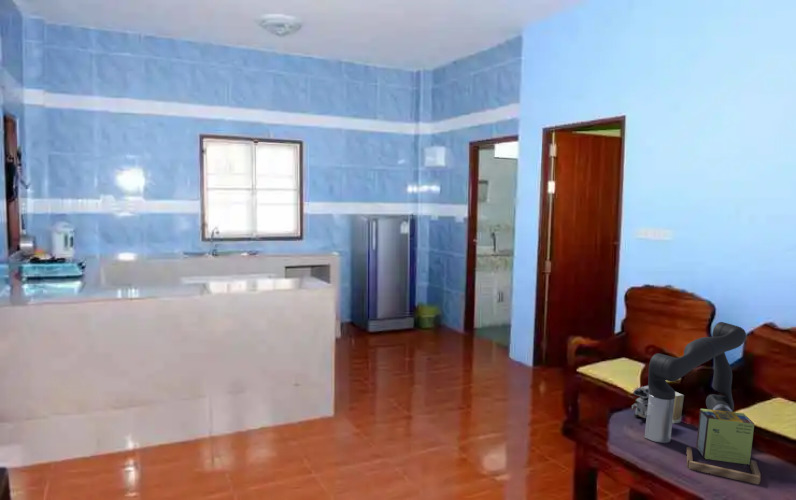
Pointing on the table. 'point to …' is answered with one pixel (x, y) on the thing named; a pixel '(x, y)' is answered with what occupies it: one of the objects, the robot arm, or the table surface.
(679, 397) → the skincare box
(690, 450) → the display bay
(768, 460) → the table surface
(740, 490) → the table surface
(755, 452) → the table surface
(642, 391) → the figurine
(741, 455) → the protein box
